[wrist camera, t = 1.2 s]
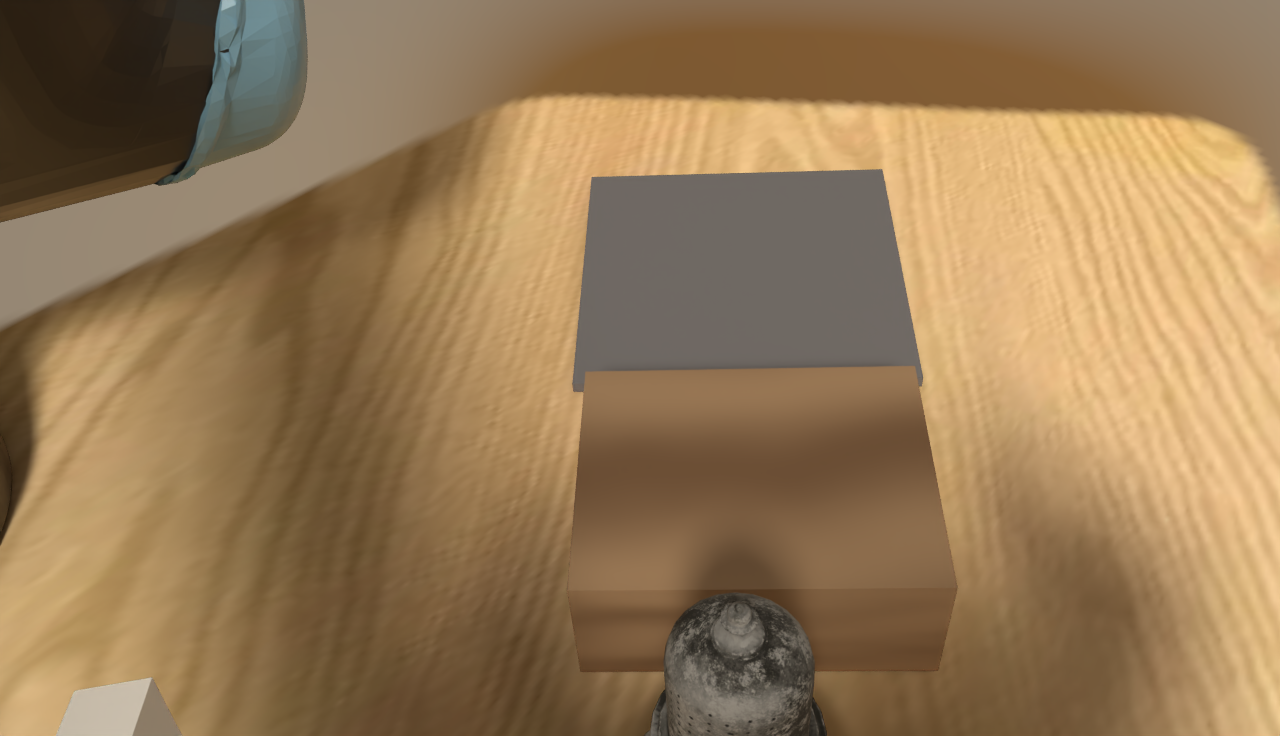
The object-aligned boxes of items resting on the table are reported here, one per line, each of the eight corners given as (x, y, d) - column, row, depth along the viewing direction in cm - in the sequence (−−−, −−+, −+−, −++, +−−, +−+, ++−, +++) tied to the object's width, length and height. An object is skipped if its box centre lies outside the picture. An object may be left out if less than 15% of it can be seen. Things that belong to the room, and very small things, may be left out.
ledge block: (937, 670, 33) (957, 587, 30) (580, 671, 34) (567, 590, 31) (901, 452, 39) (914, 365, 36) (595, 456, 39) (585, 371, 37)
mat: (573, 391, 42) (572, 383, 41) (592, 184, 50) (591, 176, 50) (921, 385, 41) (923, 377, 41) (881, 177, 49) (882, 169, 49)
